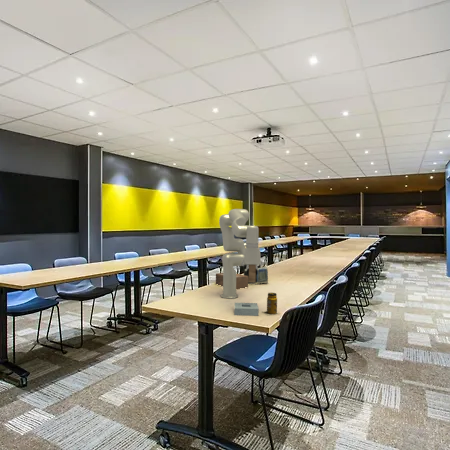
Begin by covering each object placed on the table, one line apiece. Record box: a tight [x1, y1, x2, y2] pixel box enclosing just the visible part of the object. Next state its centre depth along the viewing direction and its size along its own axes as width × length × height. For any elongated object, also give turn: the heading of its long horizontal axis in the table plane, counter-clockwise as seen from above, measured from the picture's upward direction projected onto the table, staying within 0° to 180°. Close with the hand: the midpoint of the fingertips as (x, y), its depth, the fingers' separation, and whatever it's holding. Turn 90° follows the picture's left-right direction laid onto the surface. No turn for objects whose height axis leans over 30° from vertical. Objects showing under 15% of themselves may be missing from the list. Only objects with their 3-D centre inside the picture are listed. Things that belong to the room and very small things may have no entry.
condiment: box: [261, 292, 280, 316], centre depth 202 cm, size 7×8×12 cm
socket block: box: [233, 302, 259, 317], centre depth 204 cm, size 14×14×4 cm
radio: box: [243, 266, 269, 285], centre depth 297 cm, size 23×9×15 cm, turn 99°
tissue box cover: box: [215, 272, 249, 290], centre depth 285 cm, size 26×14×10 cm, turn 38°
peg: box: [248, 265, 256, 282], centre depth 207 cm, size 4×4×12 cm
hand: (251, 275), depth 207 cm, fingers closed on peg, 4 cm apart
